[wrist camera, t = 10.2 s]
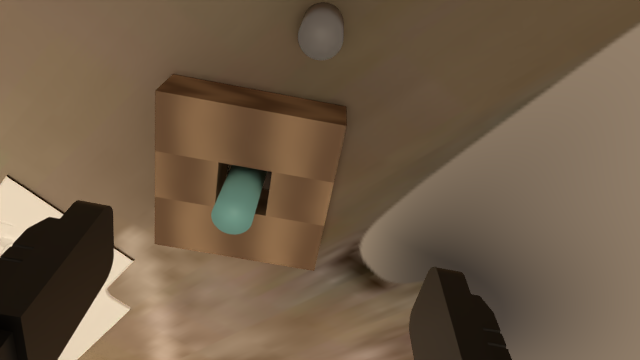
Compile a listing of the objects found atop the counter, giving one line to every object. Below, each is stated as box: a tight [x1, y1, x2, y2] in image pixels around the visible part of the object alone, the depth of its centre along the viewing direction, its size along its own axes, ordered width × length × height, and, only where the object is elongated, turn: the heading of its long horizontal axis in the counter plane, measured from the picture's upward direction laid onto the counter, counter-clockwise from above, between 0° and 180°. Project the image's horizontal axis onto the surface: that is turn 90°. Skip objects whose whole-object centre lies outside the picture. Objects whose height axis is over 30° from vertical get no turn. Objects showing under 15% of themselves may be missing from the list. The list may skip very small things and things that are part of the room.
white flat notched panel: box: [0, 176, 134, 360], centre depth 49 cm, size 20×28×4 cm
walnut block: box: [155, 74, 347, 271], centre depth 39 cm, size 14×14×4 cm
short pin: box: [298, 2, 343, 60], centre depth 33 cm, size 3×3×4 cm
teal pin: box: [211, 165, 267, 235], centre depth 37 cm, size 3×3×8 cm
